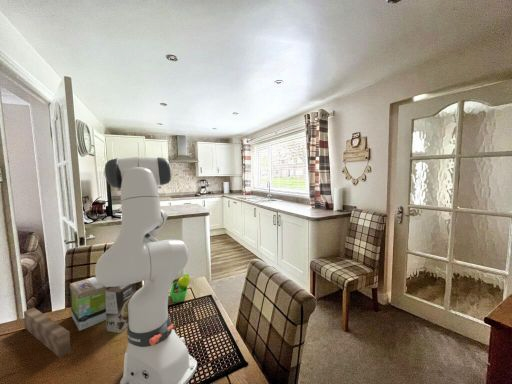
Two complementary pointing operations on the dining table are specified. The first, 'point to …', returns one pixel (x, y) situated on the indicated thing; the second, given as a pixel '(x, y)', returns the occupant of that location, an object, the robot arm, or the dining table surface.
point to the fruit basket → (180, 289)
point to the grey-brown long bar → (47, 331)
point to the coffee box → (118, 307)
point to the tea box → (87, 302)
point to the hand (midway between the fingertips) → (127, 261)
